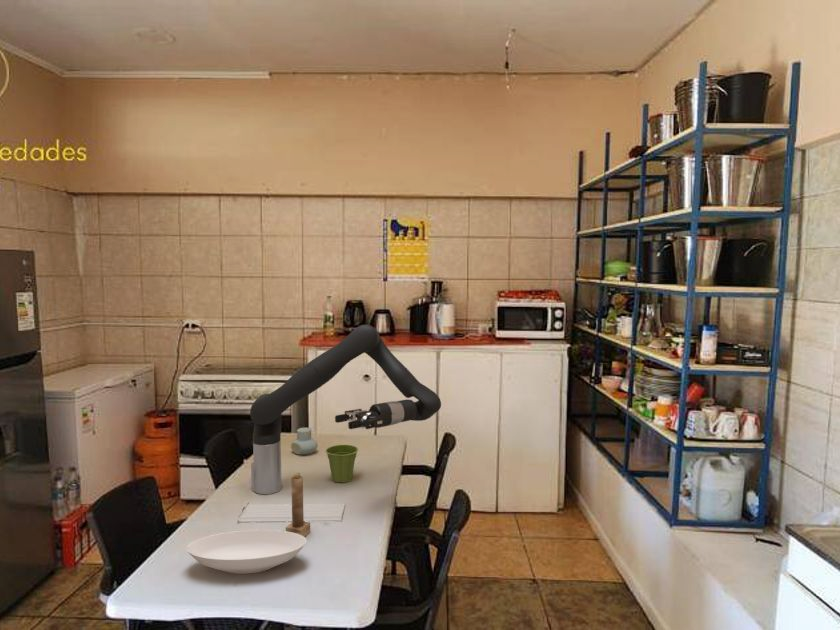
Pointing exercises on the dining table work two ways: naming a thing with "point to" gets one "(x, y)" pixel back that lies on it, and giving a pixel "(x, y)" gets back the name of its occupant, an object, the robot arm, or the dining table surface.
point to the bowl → (246, 550)
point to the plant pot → (341, 462)
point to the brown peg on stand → (298, 508)
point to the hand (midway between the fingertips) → (342, 422)
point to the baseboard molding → (285, 513)
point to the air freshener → (304, 442)
